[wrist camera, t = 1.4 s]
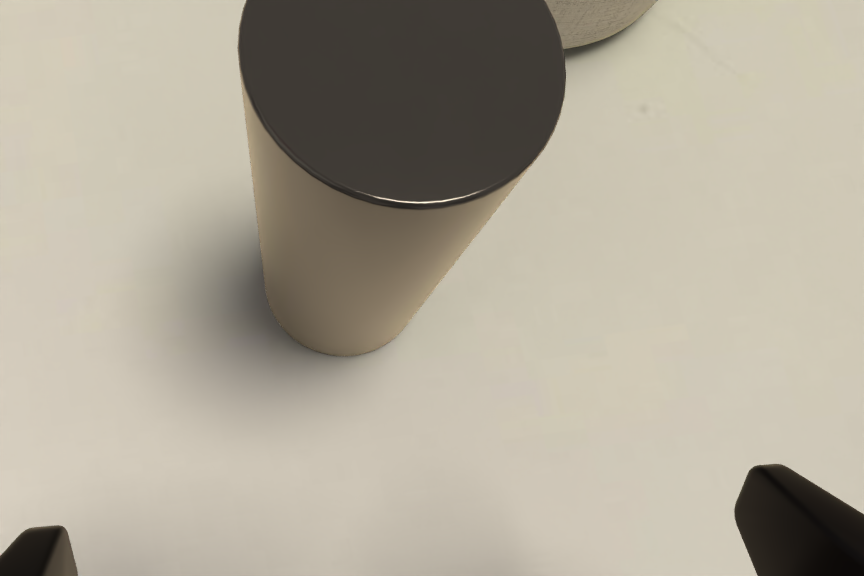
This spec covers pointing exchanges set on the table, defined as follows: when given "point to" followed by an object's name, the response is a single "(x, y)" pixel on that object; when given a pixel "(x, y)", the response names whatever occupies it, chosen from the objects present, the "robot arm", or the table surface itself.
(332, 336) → the dark grey cylinder
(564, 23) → the planter
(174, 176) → the table surface
